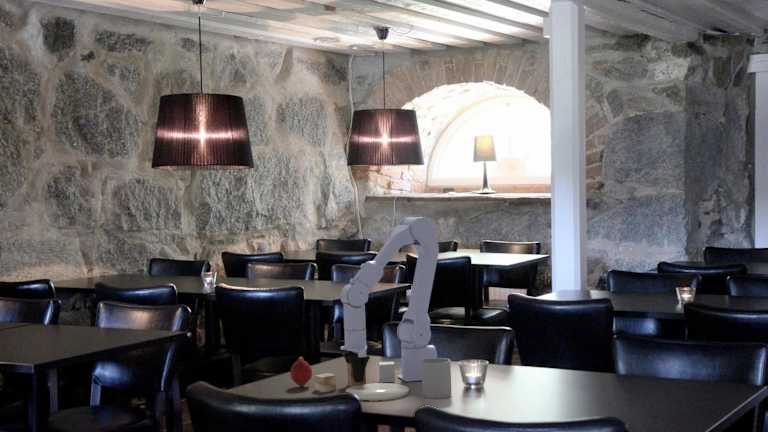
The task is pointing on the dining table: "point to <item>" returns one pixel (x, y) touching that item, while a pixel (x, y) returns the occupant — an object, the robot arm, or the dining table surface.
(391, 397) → the plate
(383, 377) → the grey block
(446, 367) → the cup
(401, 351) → the robot arm
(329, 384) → the oak block
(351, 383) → the walnut block
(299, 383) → the onion
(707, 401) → the dining table surface
